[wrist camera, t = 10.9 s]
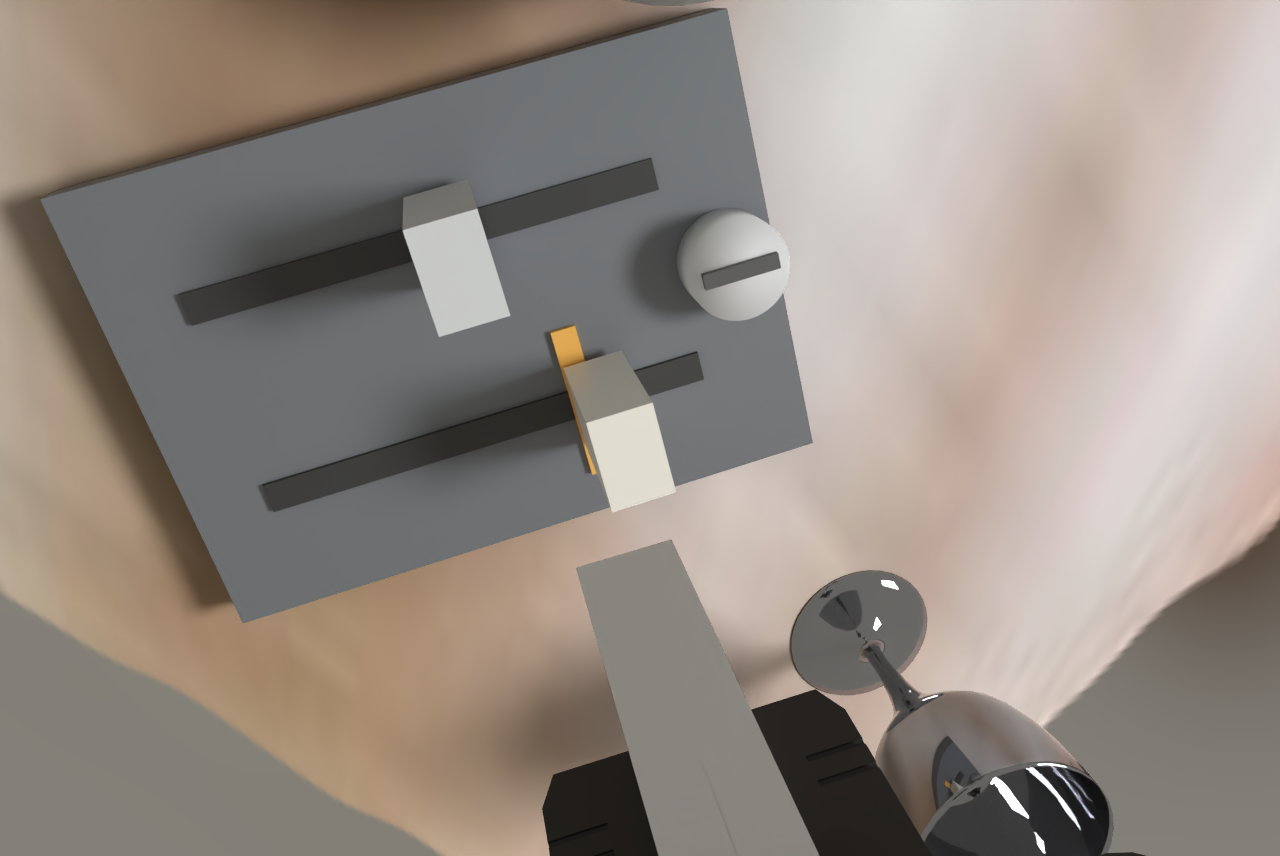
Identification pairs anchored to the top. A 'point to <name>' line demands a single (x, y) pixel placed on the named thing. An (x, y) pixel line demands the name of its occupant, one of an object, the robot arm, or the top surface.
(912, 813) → the wine glass
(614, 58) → the console
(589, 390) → the fader
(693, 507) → the top surface
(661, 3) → the food container
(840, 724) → the robot arm
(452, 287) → the fader
